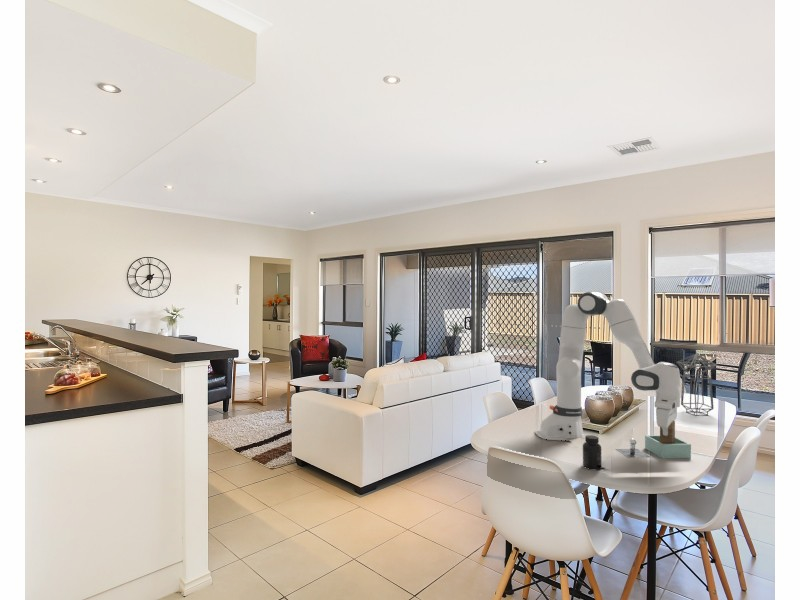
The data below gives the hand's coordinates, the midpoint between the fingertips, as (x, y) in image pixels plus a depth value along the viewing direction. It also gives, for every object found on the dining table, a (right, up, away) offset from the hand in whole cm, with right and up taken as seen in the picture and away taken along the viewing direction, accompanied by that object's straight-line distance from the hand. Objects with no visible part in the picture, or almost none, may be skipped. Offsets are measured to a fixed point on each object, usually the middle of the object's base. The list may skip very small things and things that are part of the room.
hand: (667, 433), depth 188 cm
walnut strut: (0, -7, 0) cm, 7 cm away
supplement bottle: (-37, -10, -13) cm, 41 cm away
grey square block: (-15, -10, -1) cm, 18 cm away
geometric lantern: (+59, -10, +70) cm, 92 cm away
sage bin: (0, -10, 0) cm, 10 cm away
